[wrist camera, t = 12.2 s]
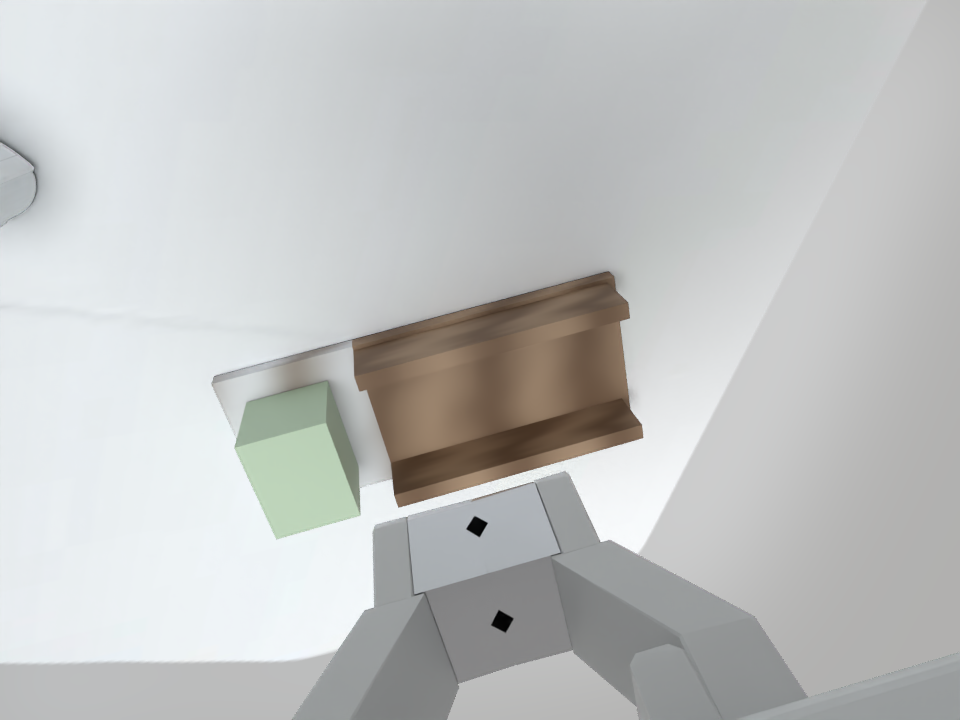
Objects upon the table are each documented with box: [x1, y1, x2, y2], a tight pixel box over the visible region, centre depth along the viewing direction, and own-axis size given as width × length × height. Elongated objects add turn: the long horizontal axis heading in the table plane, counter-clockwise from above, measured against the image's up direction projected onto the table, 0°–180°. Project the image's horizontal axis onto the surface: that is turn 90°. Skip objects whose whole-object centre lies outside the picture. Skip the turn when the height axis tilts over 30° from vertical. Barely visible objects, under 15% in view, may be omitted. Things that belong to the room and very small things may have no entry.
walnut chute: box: [212, 272, 643, 508], centre depth 42 cm, size 25×10×4 cm, turn 102°
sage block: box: [235, 381, 360, 539], centre depth 40 cm, size 5×7×5 cm
